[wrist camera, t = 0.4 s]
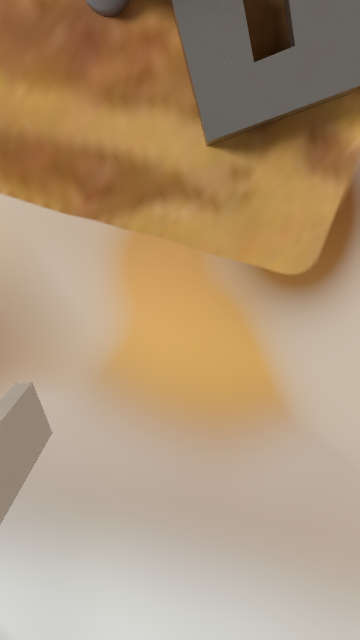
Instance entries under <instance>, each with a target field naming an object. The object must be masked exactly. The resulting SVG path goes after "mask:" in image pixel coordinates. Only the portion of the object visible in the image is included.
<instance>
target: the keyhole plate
mask: <svg viewBox="0 0 360 640" xmlns="http://www.w3.org/2000/svg"><path fill="white" fill-rule="evenodd" d="M170 2H171V6H172V10H173V14H174V18H175V21H176V25H177V29H178V33H179V37H180V41H181V45H182V49H183V53H184V57H185V61H186V65H187V69H188V73H189V77H190V81H191V85H192V89H193V93H194V97H195V101H196V105H197V109H198V113H199V117H200V121H201V125H202V129H203V133H204V137H205V141H206V145H207V146H208V145H211V144H213V143H216V142H219V141H222V140H224V139H227V138H230V137H232V136H235V135H238V134H241V133H243V132H246V131H249V130H252V129H254V128H257V127H260V126H262V125H265V124H268V123H271V122H273V121H276V120H279V119H282V118H284V117H287V116H290V115H292V114H295V113H298V112H301V111H303V110H306V109H309V108H311V107H314V106H317V105H320V104H322V103H325V102H328V101H331V100H333V99H336V98H339V97H341V96H344V95H347V94H349V93H351V92H352V91H354V90H356V89H358V88H359V87H360V0H284V3H285V10H286V17H287V24H288V31H289V38H290V45H291V48H288V49H286V50H284V51H281V52H279V53H276V54H274V55H271V56H269V57H266V58H264V59H261V60H259V61H256V62H254V59H253V54H252V48H251V43H250V37H249V32H248V26H247V21H246V15H245V10H244V4H243V0H170Z"/></svg>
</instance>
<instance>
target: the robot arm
mask: <svg viewBox="0 0 360 640" xmlns="http://www.w3.org/2000/svg"><path fill="white" fill-rule="evenodd" d="M51 434H52V430H51V428H50V425H49V423H48V420H47V418H46V415H45V413H44V410H43V408H42V406H41V403H40V400H39V398H38V395H37V393H36V391H35V388H34V386H33V383H32V382H27V383H15V384H14V385H13V386H12V387H11V388H10V389H9V390H8V392H7V393H6V394H5V395H4V396H3V397H2V399H1V400H0V524H1V522H2V520H3V519H4V517H5V515H6V514H7V512H8V510H9V508H10V507H11V505H12V503H13V501H14V499H15V498H16V496H17V494H18V492H19V490H20V489H21V487H22V485H23V484H24V482H25V480H26V478H27V476H28V474H29V473H30V471H31V469H32V468H33V466H34V464H35V462H36V461H37V459H38V457H39V455H40V454H41V452H42V450H43V448H44V447H45V445H46V443H47V441H48V439H49V438H50V436H51Z"/></svg>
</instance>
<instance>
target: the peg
mask: <svg viewBox="0 0 360 640" xmlns="http://www.w3.org/2000/svg"><path fill="white" fill-rule="evenodd" d="M86 2H87V3H88V5H89V6H90V7H91V9H92V10H93V11H95V12H96V13H97V14H99V15H101V16H105V17H112V16H116V15H118V14H119V13H121V12H122V11H123V10H124V9H125V7H126V6H127V4H128V2H129V0H86Z"/></svg>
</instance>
